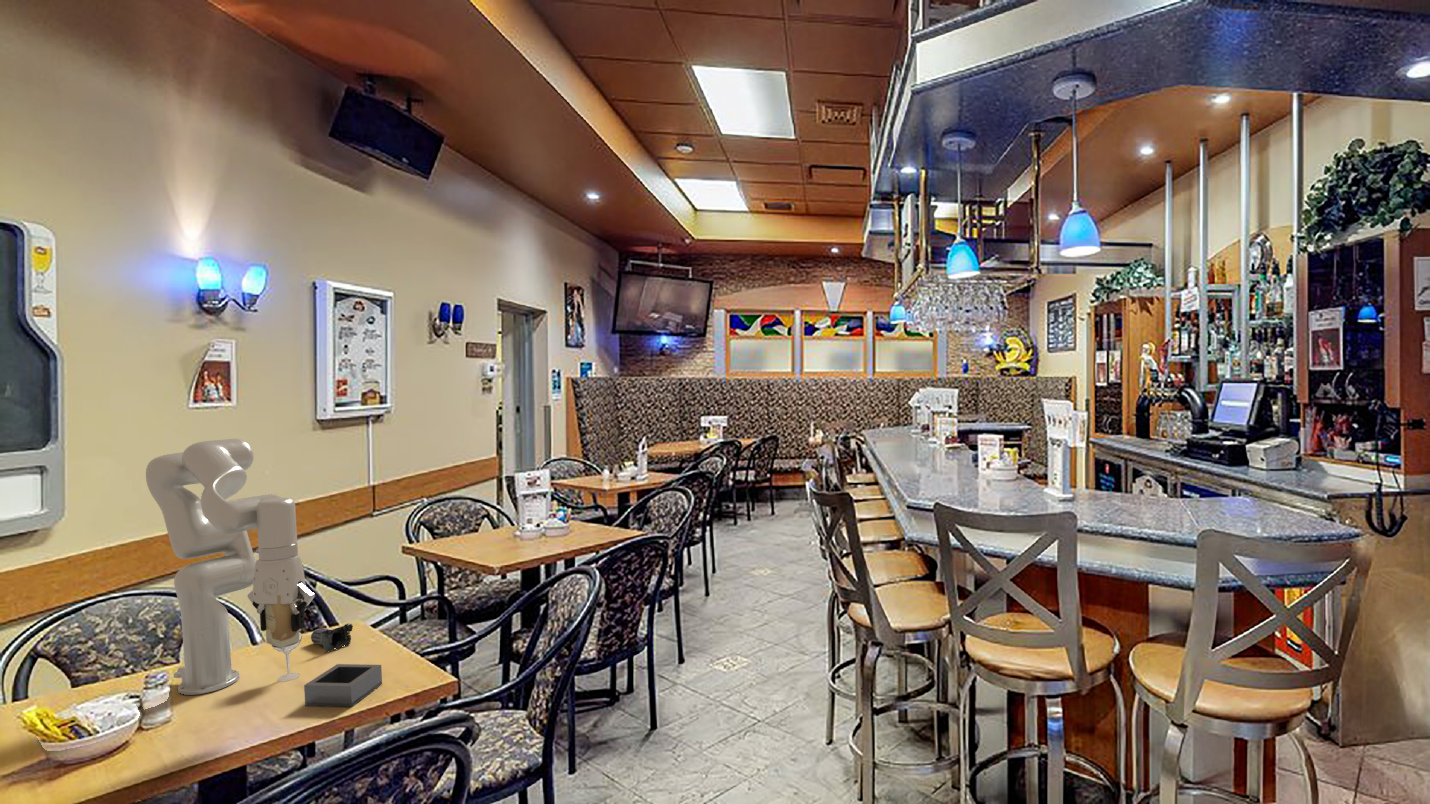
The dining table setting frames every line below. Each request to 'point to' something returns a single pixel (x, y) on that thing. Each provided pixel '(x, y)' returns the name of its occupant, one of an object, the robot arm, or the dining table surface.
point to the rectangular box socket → (343, 685)
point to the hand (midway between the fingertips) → (282, 628)
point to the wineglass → (286, 651)
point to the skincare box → (280, 625)
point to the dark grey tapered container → (332, 637)
